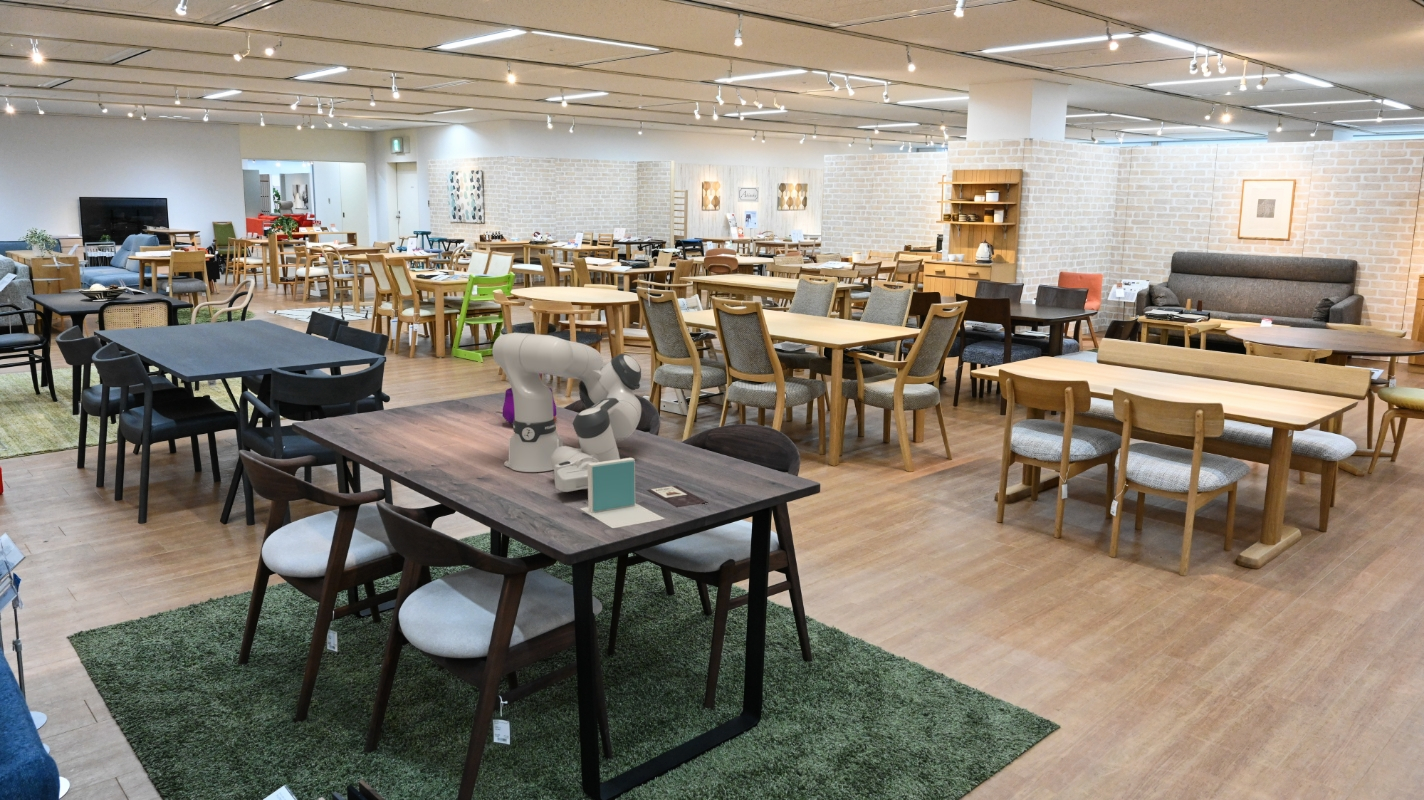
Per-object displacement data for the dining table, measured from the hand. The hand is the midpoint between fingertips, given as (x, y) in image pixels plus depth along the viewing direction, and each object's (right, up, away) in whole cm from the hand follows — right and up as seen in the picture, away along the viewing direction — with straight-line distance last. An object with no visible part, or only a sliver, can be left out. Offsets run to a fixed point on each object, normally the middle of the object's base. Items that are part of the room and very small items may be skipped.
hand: (607, 484), depth 248 cm
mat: (+4, -7, -8) cm, 12 cm away
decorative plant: (-38, +13, +96) cm, 104 cm away
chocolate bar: (+17, -5, +7) cm, 19 cm away
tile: (+2, -6, -4) cm, 7 cm away
